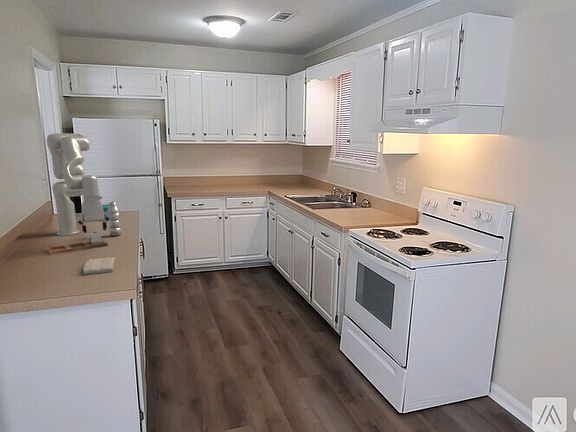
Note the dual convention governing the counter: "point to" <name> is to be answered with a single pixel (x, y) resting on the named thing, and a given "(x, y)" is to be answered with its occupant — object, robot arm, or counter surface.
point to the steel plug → (95, 237)
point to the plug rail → (69, 247)
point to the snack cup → (105, 209)
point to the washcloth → (99, 265)
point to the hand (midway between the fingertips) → (95, 231)
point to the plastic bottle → (114, 219)
